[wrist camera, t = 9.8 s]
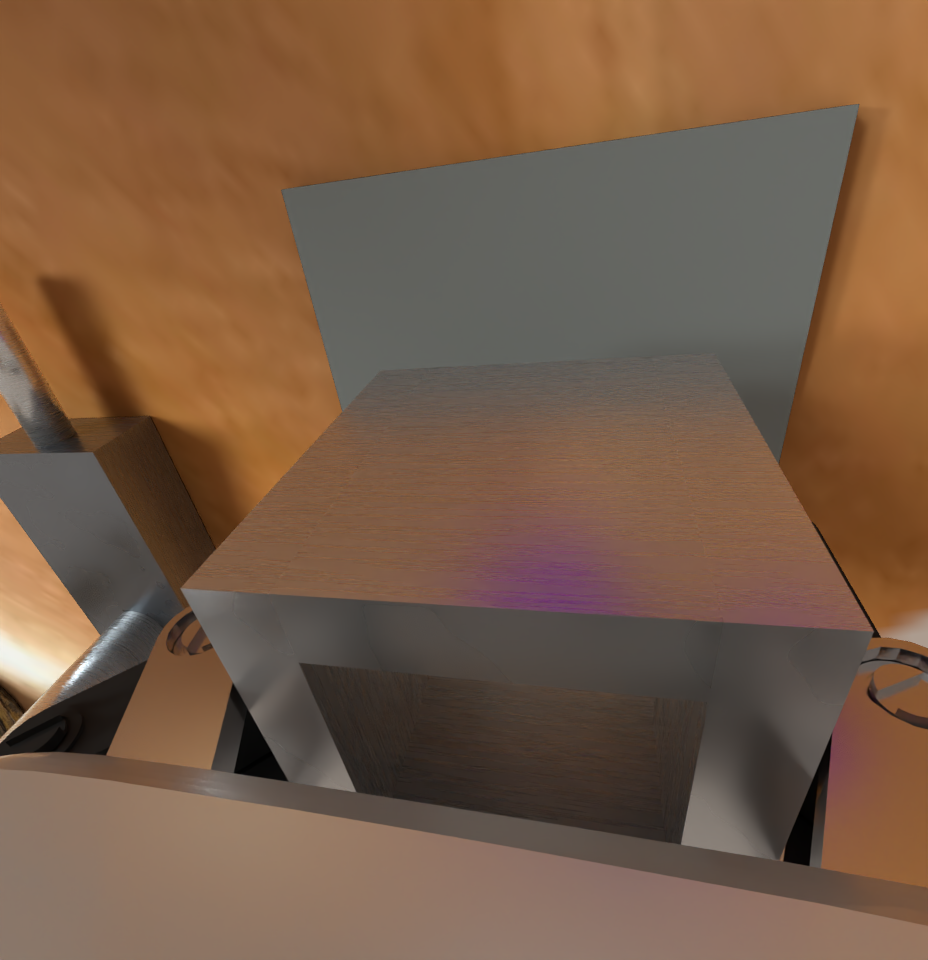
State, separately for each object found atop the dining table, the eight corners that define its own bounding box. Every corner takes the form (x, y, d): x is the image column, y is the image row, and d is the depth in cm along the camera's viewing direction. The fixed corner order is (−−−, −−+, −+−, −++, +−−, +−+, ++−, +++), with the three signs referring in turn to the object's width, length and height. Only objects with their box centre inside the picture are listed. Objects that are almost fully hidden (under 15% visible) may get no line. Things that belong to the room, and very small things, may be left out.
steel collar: (380, 370, 10) (179, 587, 5) (714, 353, 9) (873, 631, 4) (429, 594, 13) (334, 861, 8) (681, 609, 12) (745, 942, 7)
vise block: (-54, 276, 16) (-1022, 488, 6) (73, 260, 15) (-874, 490, 5) (206, 693, 27) (-7, 1005, 18) (291, 702, 26) (113, 1041, 16)
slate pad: (293, 187, 13) (280, 189, 12) (846, 105, 10) (859, 103, 10) (390, 556, 19) (385, 567, 19) (747, 568, 16) (752, 582, 16)
